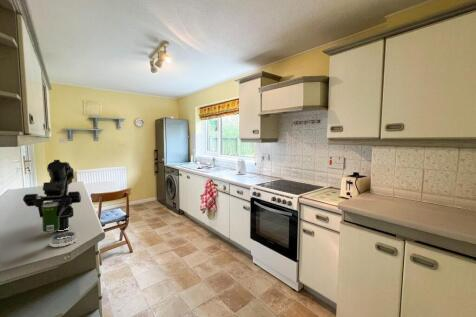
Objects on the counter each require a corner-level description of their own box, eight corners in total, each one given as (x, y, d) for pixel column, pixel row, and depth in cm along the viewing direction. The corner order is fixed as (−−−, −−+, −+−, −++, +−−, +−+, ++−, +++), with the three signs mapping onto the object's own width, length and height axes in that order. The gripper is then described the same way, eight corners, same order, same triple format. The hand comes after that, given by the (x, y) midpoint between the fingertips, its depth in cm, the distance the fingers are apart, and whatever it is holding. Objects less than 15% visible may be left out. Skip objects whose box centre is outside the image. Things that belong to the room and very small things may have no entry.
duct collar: (52, 240, 97) (52, 233, 97) (79, 236, 102) (79, 229, 102) (45, 249, 89) (45, 242, 88) (76, 244, 93) (76, 237, 93)
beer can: (60, 231, 92) (59, 203, 91) (42, 234, 88) (42, 205, 87) (58, 227, 95) (58, 200, 95) (42, 230, 92) (41, 202, 91)
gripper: (23, 175, 89) (11, 209, 80) (79, 173, 98) (73, 204, 88) (32, 190, 97) (22, 222, 88) (83, 187, 105) (78, 217, 96)
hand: (49, 216), depth 90 cm, fingers closed on beer can, 5 cm apart
